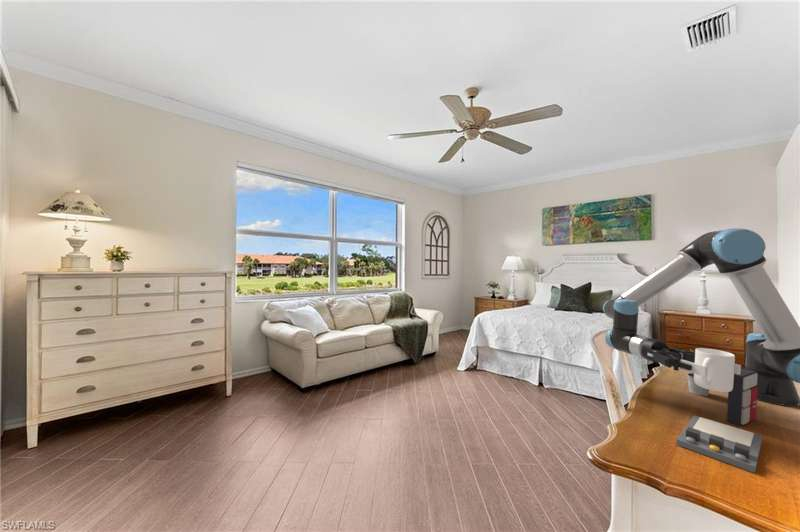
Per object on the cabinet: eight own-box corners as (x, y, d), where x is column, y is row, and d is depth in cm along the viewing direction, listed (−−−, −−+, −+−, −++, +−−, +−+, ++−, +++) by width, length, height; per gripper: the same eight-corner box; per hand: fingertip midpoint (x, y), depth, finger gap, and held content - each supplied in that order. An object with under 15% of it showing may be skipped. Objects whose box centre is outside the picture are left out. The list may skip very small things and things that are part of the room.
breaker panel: (693, 420, 99) (694, 408, 99) (761, 441, 88) (762, 428, 88) (676, 444, 85) (677, 431, 85) (755, 473, 74) (755, 458, 74)
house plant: (690, 383, 130) (692, 342, 130) (734, 397, 117) (737, 352, 116) (665, 386, 125) (667, 344, 125) (709, 402, 112) (711, 355, 112)
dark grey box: (743, 427, 95) (746, 377, 95) (723, 420, 99) (726, 372, 99) (757, 419, 100) (760, 372, 100) (738, 413, 104) (740, 367, 104)
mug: (722, 397, 87) (724, 359, 87) (683, 386, 94) (685, 351, 94) (737, 389, 93) (739, 354, 93) (699, 379, 100) (701, 346, 100)
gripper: (676, 358, 115) (754, 381, 93) (619, 360, 110) (688, 386, 88) (677, 337, 114) (755, 356, 93) (620, 338, 110) (690, 359, 88)
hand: (723, 370), depth 91 cm, fingers closed on mug, 11 cm apart
